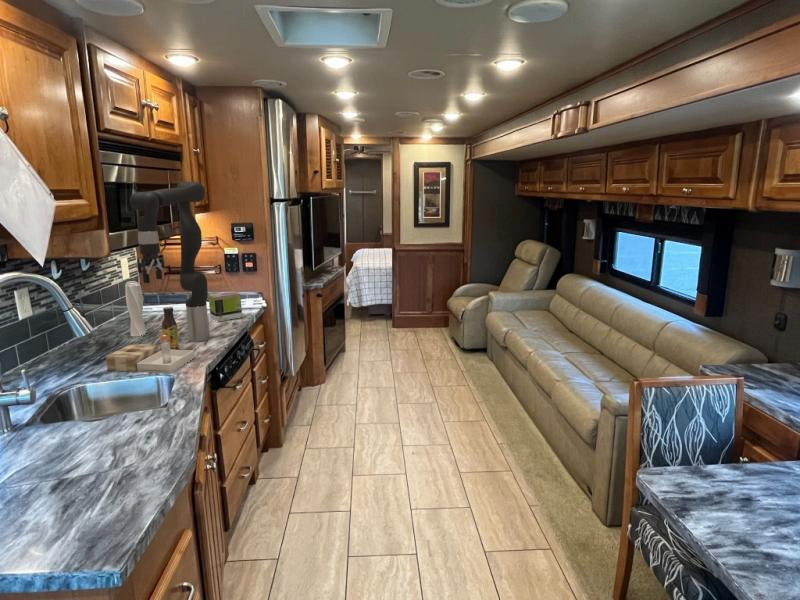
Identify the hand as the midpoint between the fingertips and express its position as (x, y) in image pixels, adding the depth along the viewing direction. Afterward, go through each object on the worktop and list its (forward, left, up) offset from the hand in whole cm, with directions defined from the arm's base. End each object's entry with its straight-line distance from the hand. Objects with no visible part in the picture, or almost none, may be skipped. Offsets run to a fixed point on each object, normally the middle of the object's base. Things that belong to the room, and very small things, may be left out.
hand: (153, 281), depth 198 cm
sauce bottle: (-11, -2, -34) cm, 36 cm away
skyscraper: (-31, -32, -34) cm, 56 cm away
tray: (+7, +7, -34) cm, 36 cm away
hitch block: (+8, -7, -34) cm, 36 cm away
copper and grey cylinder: (+7, +7, -33) cm, 35 cm away
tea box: (-67, -3, -34) cm, 75 cm away
